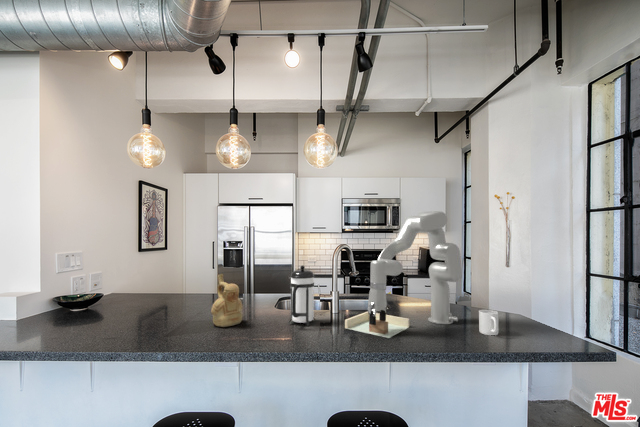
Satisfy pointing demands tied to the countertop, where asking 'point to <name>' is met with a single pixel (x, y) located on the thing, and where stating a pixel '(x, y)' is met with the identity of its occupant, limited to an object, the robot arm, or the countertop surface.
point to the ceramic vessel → (227, 305)
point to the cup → (488, 322)
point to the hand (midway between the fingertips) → (377, 322)
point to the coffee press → (302, 296)
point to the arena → (362, 319)
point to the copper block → (379, 327)
